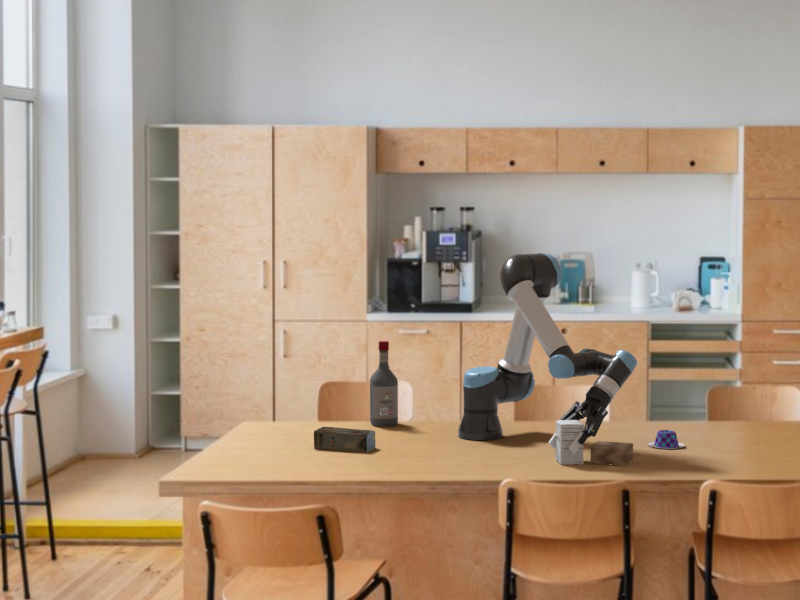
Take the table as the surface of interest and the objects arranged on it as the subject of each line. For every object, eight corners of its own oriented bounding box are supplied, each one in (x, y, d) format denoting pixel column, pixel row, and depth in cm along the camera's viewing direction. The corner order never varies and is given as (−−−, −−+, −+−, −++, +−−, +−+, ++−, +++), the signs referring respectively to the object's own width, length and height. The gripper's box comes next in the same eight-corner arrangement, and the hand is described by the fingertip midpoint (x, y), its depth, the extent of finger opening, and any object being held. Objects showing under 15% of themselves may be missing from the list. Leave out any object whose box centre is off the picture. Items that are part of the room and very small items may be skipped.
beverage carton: (367, 453, 394) (367, 433, 394) (312, 449, 401) (312, 429, 400) (376, 448, 402) (376, 428, 401) (322, 444, 408) (321, 425, 407)
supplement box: (554, 460, 383) (555, 419, 382) (578, 459, 383) (578, 419, 382) (559, 465, 375) (560, 424, 374) (583, 464, 376) (584, 423, 375)
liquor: (398, 425, 440) (398, 342, 438) (373, 427, 438) (373, 343, 436) (393, 421, 449) (393, 339, 447) (369, 422, 447) (368, 340, 445)
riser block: (590, 463, 377) (590, 447, 377) (597, 456, 388) (598, 440, 387) (626, 466, 373) (626, 450, 373) (632, 459, 384) (633, 443, 383)
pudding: (667, 452, 396) (667, 436, 395) (639, 446, 406) (640, 430, 405) (692, 447, 403) (693, 432, 402) (665, 441, 412) (665, 426, 412)
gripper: (632, 405, 376) (591, 462, 369) (585, 395, 395) (546, 449, 388) (619, 389, 373) (577, 446, 366) (573, 380, 392) (532, 434, 385)
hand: (561, 448), depth 377 cm, fingers closed on supplement box, 9 cm apart
